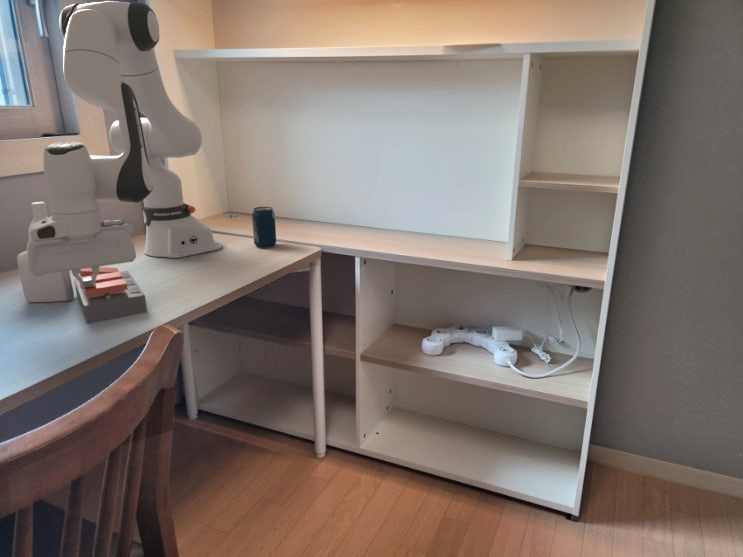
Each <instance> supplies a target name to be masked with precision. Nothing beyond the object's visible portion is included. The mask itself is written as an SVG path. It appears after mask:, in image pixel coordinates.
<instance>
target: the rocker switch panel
mask: <svg viewBox="0 0 743 557" xmlns="http://www.w3.org/2000/svg"><path fill="white" fill-rule="evenodd" d="M119 272H120V274H121V275H122V279H124V280H125V282H126V283H127V290H121V291H116V292H110V293H105V294H99V295H94V296H88V297H87V295H86V293H85V289H81V287H80V282H79V281H78V280H77V279H76V278H73V281H74V287H75V292H76V296H77V299H78V303H79V304H80V307H81V310H82V313H83V316H84V319H85V321H86V324H92V323H96V322H102V321H106V320H107V321H108V320H112V319H117V318H123V317H128V316H133V315H138V314H139V315H140V314H144V313H148V308H147V302H146V301H147V300H146V295H145V293H144V292H143V290H142V289H141V288H140V286H139V284H138V282H137V281H136V280H135V279H134V277H133V276H132V274H131V273H130V272H129V270H124V271H119Z"/></svg>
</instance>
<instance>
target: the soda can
mask: <svg viewBox="0 0 743 557" xmlns="http://www.w3.org/2000/svg"><path fill="white" fill-rule="evenodd" d="M274 211H275V210H273V207H271V206H257V207H254V208H253V212H252V214H251V219H252V232H253V243H254V245H255V246H256V248H259V249H271V248H274V247H275V245H276V244H277V232H276V215H275V214H276V213H275V212H274Z"/></svg>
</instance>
